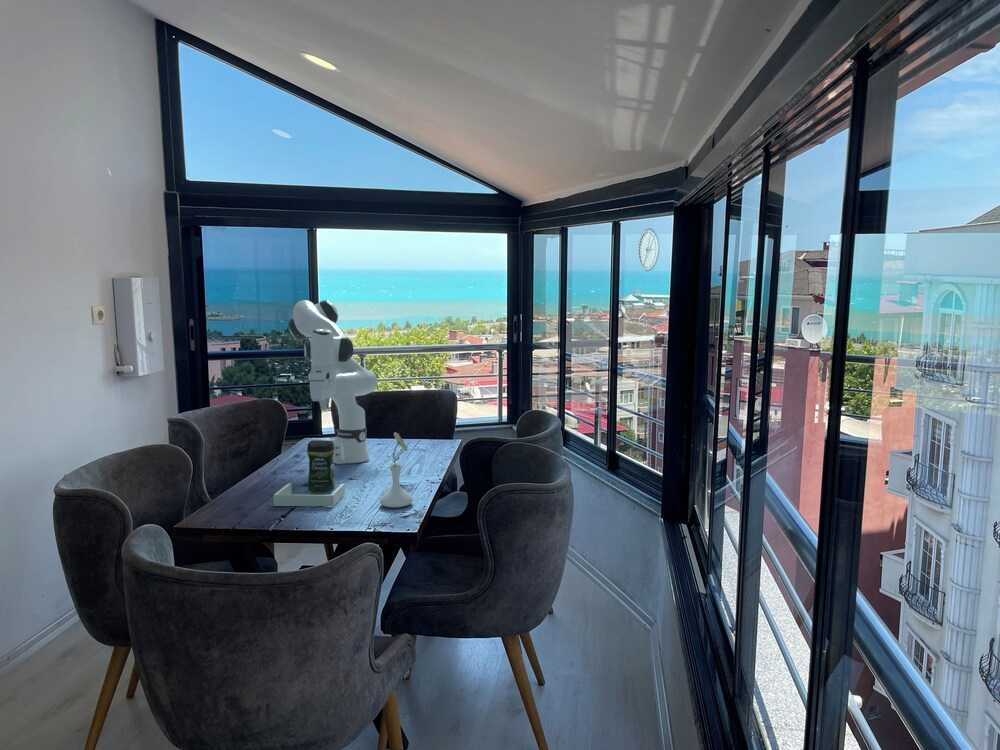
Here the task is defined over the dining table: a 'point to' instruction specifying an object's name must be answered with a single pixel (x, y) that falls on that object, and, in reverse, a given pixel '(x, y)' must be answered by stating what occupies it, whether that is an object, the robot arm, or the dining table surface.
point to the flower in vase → (396, 483)
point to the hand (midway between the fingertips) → (324, 409)
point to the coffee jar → (321, 465)
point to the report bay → (306, 498)
